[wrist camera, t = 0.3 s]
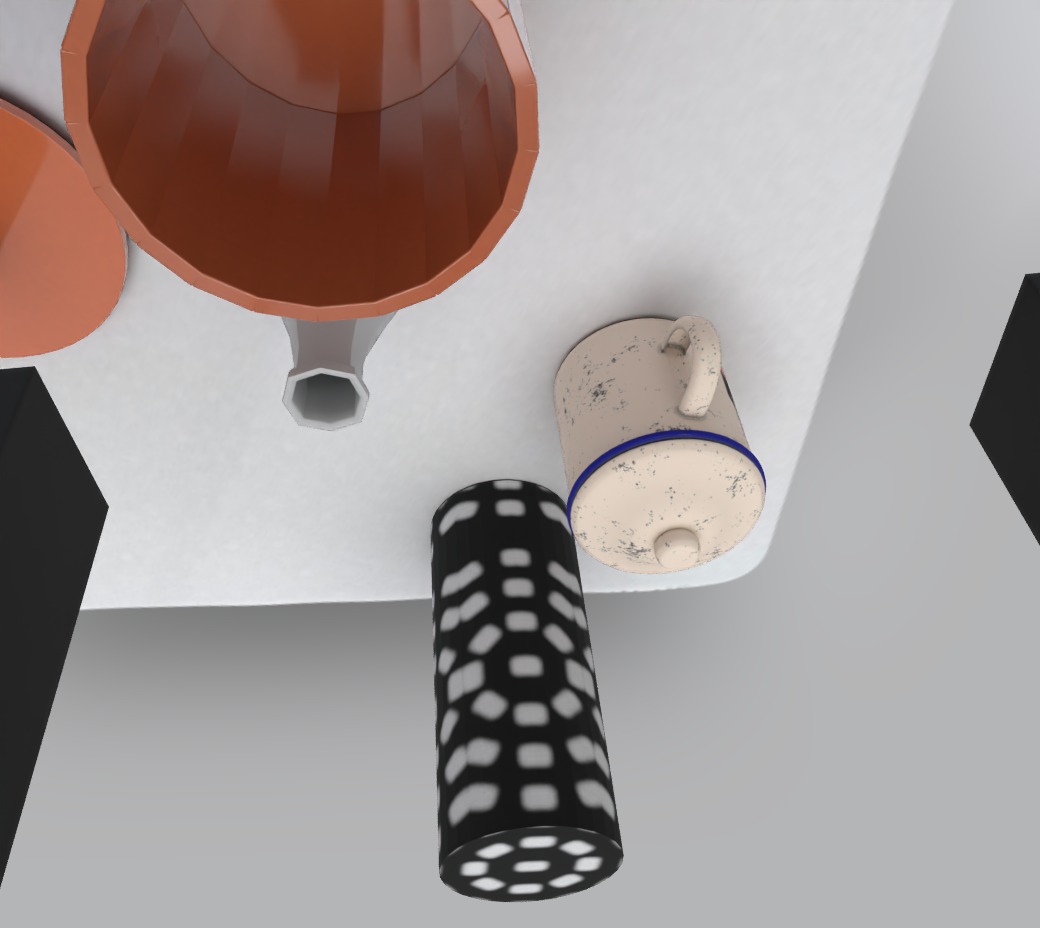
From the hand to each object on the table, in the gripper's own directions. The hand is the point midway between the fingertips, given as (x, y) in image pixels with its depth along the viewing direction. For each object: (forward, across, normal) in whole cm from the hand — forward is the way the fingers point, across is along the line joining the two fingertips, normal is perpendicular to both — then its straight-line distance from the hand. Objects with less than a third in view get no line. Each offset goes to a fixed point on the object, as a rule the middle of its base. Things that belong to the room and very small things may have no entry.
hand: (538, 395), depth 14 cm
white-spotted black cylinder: (+28, -1, -35) cm, 45 cm away
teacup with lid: (+28, +7, -23) cm, 37 cm away
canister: (+28, -5, -3) cm, 28 cm away
